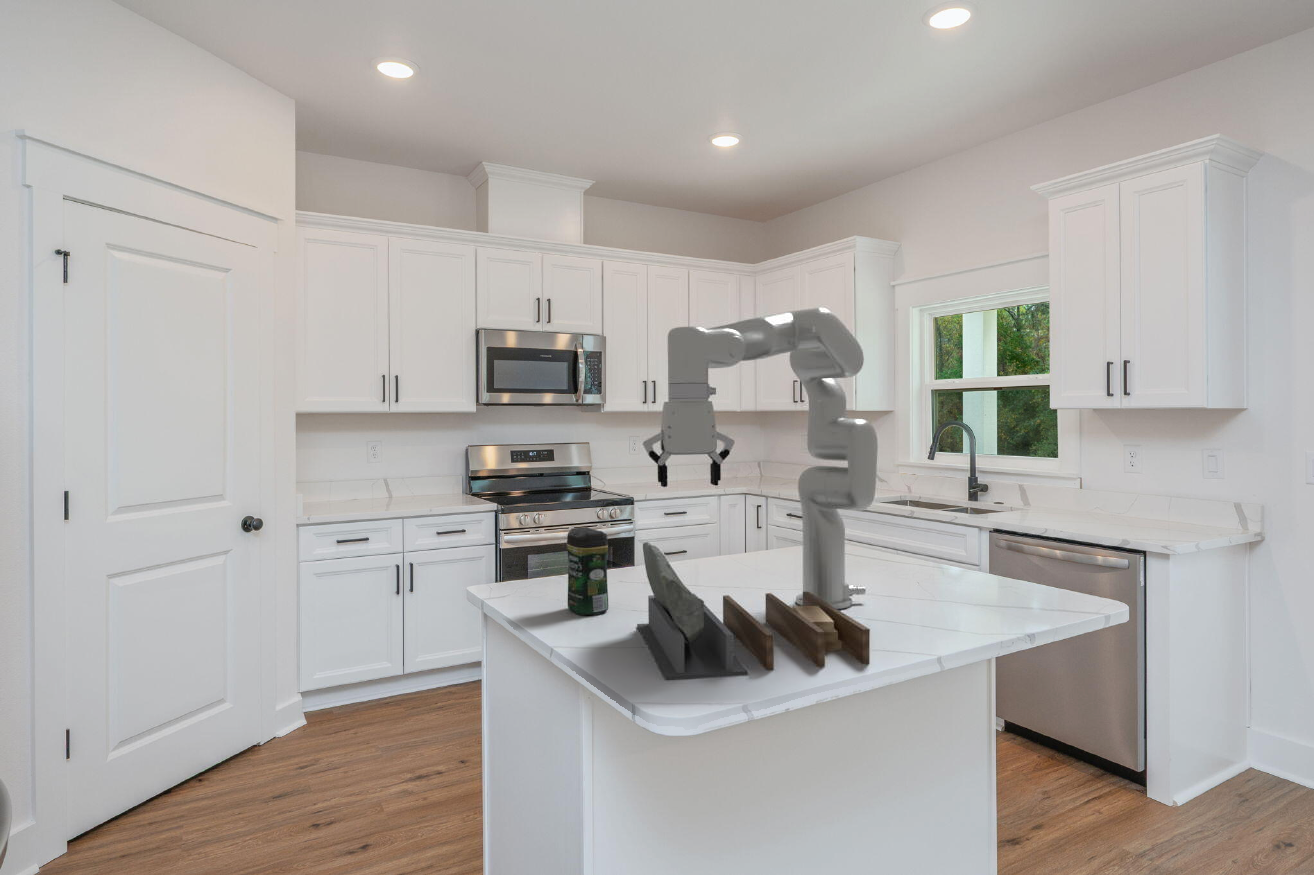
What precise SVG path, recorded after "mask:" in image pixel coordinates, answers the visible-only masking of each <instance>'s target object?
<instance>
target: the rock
mask: <svg viewBox="0 0 1314 875" xmlns="http://www.w3.org/2000/svg"><path fill="white" fill-rule="evenodd" d="M642 551H643V560H644V565H645V566H644V567H645V572H646V577H647V580H648V583H649V585H650V589H651V592H652V594H653V595H654V596H655V598H656V600H657V601H658V602H659V603H660V604H661V606H662V607H663V608H664V610H665V611H666V613H667V614H668V615H669V617H670V618H671V620H672V621H673V622H674V624H675V625H676V626H677V628H678V629H679V631H680V632H681V633H682V635H683V636H684V639H685V641H686V642H687V643H688V644H689V645H691V644H693V643H694V642H695V641H696V640H698V639H699V638H700V635H701V634H702V632H703V626H704V604H705V600H703V599H702V598H700V597H699V596H697V595H696V594H695V593H693V592H691V591H690V589H689V588H688V587H686V585H685V584H684V583H683V582H682V580H681V579H680V577H679V576H678V575H677V572H676V571H675V570H674V568H673V567H672V566H671V564H670V563H669V561H668V559H667V558H666V556H665V554H664V553H663V552H662V551H661V550H660V548H659V547H657V546H656V545H653V544H651V543H650V542H648V541H645V542H643V543H642ZM694 594H695V595H696V596H697V597H696V596H695V595H694Z"/></svg>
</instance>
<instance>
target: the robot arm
mask: <svg viewBox="0 0 1314 875" xmlns="http://www.w3.org/2000/svg"><path fill="white" fill-rule="evenodd" d="M786 353H789V364H790V368H791V369H792V371H793V373H794V374H795V376H796V377H797V378H798V379H799V382H801V384H802V386H803V387H804V389H805V392H806V395H807V400H808V418H807V438H806V439H807V442H806V445H807V451H808V453H809V455H810V456H811V457H813V458H814V459H817V460H821V461H839V462H841V461H842V462H847V467H846V466H830V465H829V466H828V465H815V466H810V467H807V468H806V469H805V470H803V472H801V474H800V475H799V478H798V482H797V491H798V492H797V493H798V497H799V502H800V507H801V516H802V593H799V594H798V595H796V596H795V602H796V603H797V604H798V606H803V592H810V593H811V594H813V595H815V596H816V597H818V598H820V599H821V600H823V601H824V602H826V603H828V604H829V605H831V606H833V607H834V608H836V609H838V610H840V609H846V608H849V607H851V606H852V605H853V599H852V598H851V597H853V595H858V596H859V595H863V596H864V595H866V591H867V590H866V587H865V586H864V585H855V584H853V585H852V584H850V585H849V584H847V583H846V528H845V523H844V520H843V518H842V516H841V514H840V512H839V511H838V510H844V511H845V510H846V511H857V512H859V511H866V510H867V509H868V508H869V507H871V506H872V505H873V502H874V500H875V495H876V494H875V493H876V488H877V486H876V485H877V484H876V483H877V468H878V467H877V466H878V447H879V446H878V445H879V444H878V443H879V442H878V437H877V432H876V430H875V428H874V426H873V424H872V423H871V422H869V421H868V420H866V419H861V418H848V417H847V396H846V393H845V391H844V389H843V387H842V385H841V384H840V383H839V382H838V380H837V379H846V378H853V377H854V376H856V375H857V374H859V373H860V371H861V370H862V368H863V366H864V363H865V361H864V360H865V358H864V352H863V349H862V346H861V345H860V342H859V341H858V340H857V338H855V336H854V335H853V334H852V333H851V331H850V330H849V329H848V328H847V326H846V325H845V324H844V323H843V321H842V320H840V318H839V317H838V316H837V315H836V314H834V313H833V312H832V311H830V310H829V309H827V308H824V307H815V308H808V309H800V310H792V311H790V310H789V311H786V312H780V313H775V314H769V315H765V316H758V317H754V318H749V319H744V320H740V321H736V322H733V323H728V324H723V325H719V326H714V327H708V328H704V327H700V326H677V327H674V328H671V329H670V330H669V331H668V333H667V384H668V385H667V390H668V391H667V396H668V399H667V400H668V401H663V405H662V411H661V421H660V422H661V424H660V432H658V433H657V434H655V435H653V436H651V437H649V438H647V439H645V440H644V441H643V442H642V445H643V448H644V450H645V452H646V453H647V456H649V458H650V459H651V460H652V461H654V462H655V463H656V465H657V481H658V483H660V486H661V487H663V488H667V487H668V465H666V462H667V461H668V459H670V457H671V456H676V455H677V456H681V455H682V456H683V455H685V456H687V455H688V456H689V455H707V456H708V458H709V459H710V460H711V461H712V462H711V463H710V465H709V467H710V469H709V470H710V471H709V473H710V484H711V485H713V486H719V481H721V480H722V478H721V477H722V472H721V471H722V470H721V464H723V463H724V461H725V459H726V458H728V456H729V455H730V452H731V451H732V449H733V447H734V445H735V440H734V439H732V438H730V437H729V436H726V435H725V434H724V433H723V434H722V433H721V432H719V431H717V426H716V425H717V424H716V417H715V410H714V405H713V401H712V400H709V398H710V397H711V396H715V395H716V394H717V388H716V387H712V386H710V383H709V370H710V369H724V368H730V367H733V366H736V365H738V364H739V363H740V362H746V361H747V362H748V361H755V360H762V359H768V358H770V357H771V358H772V357H774V356H778V355H782V354H786ZM718 441H720V442H722V443H723V444H724V445H723V448H722V449H721V451H719V453H718V452H717V448H718ZM658 442H660V443H659V444H660V450H661V453H660V454H658V453H657V452H656V451H655V450H654V448H653V445H655V444H657V443H658Z"/></svg>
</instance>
